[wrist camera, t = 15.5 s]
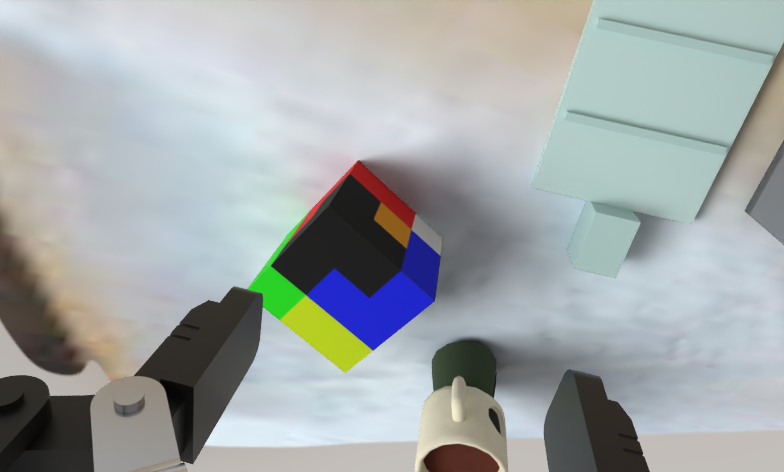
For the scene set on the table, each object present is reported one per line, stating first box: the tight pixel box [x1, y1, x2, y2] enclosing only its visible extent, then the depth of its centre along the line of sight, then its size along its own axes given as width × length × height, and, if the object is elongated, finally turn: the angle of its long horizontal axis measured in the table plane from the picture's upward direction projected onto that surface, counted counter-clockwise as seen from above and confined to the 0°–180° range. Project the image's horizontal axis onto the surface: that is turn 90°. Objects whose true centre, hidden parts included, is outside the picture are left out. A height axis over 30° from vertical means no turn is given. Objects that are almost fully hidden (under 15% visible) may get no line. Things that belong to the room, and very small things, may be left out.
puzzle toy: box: [247, 161, 443, 373], centre depth 42 cm, size 10×10×10 cm
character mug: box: [415, 342, 508, 472], centre depth 45 cm, size 11×7×13 cm, turn 6°
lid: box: [532, 0, 784, 278], centre depth 37 cm, size 24×13×3 cm, turn 169°
